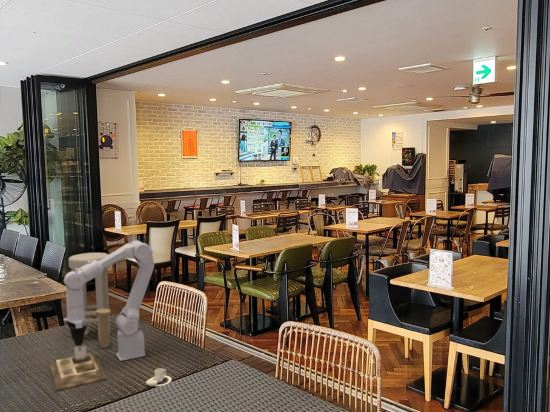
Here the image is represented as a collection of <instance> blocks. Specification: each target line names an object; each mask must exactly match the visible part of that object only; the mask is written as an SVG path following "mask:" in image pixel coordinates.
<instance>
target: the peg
mask: <svg viewBox="0 0 550 412" xmlns="http://www.w3.org/2000/svg"><path fill="white" fill-rule="evenodd" d="M87 354H88V353H87V345H86V344H82V345H80V346H76V345H75V346H74V357H75V364H76V363H81V362H86V361H87Z"/></svg>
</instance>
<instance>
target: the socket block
mask: <svg viewBox="0 0 550 412" xmlns="http://www.w3.org/2000/svg"><path fill="white" fill-rule="evenodd" d="M49 369H50V371H51V372H50V373H51V376H52V379H53V384H54V388H55V391H56V392H58V391H59V392H60V391H63V390H68V389H72V388H77V387H80V386H86V385H90V384H93V383H94V384H95V383H98V382H103V381H107V380H108V376H107V375H106V373H105V371H104V368H103V367H102V365H101V362H100V361H99V359H98V358H97V355H94V356H93V354H92V353H91V352H89V353H87V361H86V362H81V363H76V364H75V356H71V357H66V358H62V359H61V358H60V359H56V362H55V364H49Z"/></svg>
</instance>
